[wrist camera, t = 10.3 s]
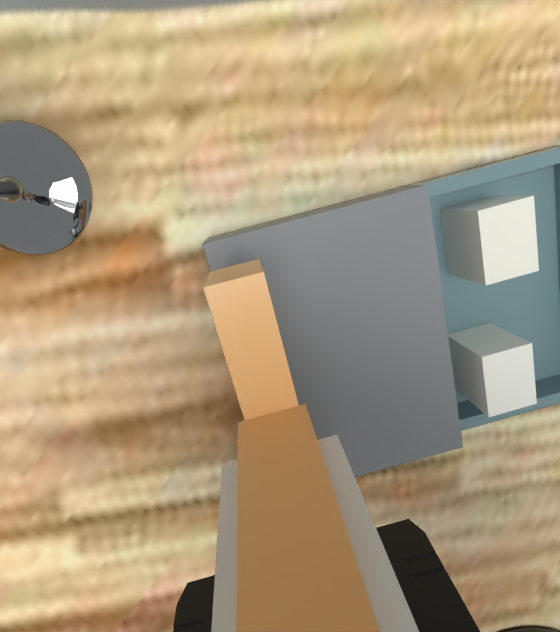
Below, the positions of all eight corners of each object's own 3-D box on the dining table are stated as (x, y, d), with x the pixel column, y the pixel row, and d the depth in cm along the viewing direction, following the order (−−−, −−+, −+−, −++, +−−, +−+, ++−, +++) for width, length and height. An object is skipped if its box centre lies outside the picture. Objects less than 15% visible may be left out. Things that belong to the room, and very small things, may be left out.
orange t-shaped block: (335, 530, 20) (445, 907, 9) (287, 543, 20) (341, 939, 9) (265, 257, 16) (319, 372, 5) (203, 273, 16) (128, 425, 5)
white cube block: (454, 387, 27) (495, 375, 27) (488, 417, 24) (536, 403, 24) (446, 334, 26) (489, 322, 26) (481, 357, 22) (532, 342, 22)
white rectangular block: (448, 273, 25) (493, 260, 25) (485, 285, 21) (538, 270, 21) (439, 209, 24) (487, 196, 24) (477, 210, 20) (534, 195, 20)
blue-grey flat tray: (567, 376, 29) (597, 392, 26) (435, 413, 29) (453, 432, 26) (558, 145, 24) (593, 138, 22) (400, 186, 24) (418, 184, 22)
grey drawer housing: (432, 414, 29) (462, 446, 25) (274, 458, 28) (280, 498, 24) (397, 187, 24) (427, 184, 20) (208, 237, 24) (202, 244, 20)
